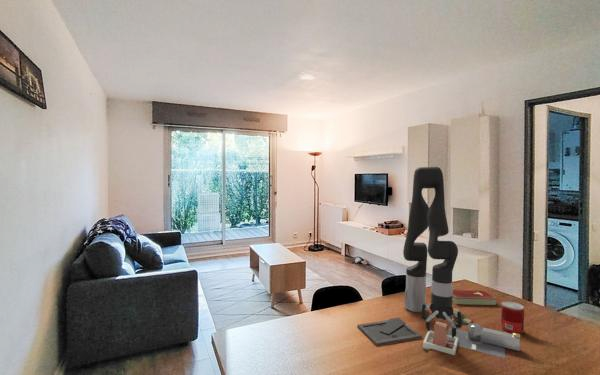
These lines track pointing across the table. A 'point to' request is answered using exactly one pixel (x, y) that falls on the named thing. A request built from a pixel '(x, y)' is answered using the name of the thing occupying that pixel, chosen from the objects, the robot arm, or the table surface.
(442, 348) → the tray
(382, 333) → the picture frame
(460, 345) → the crank plate
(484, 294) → the hardcover book
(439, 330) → the block
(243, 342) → the table surface
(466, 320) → the burger
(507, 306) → the canned food
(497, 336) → the crank
